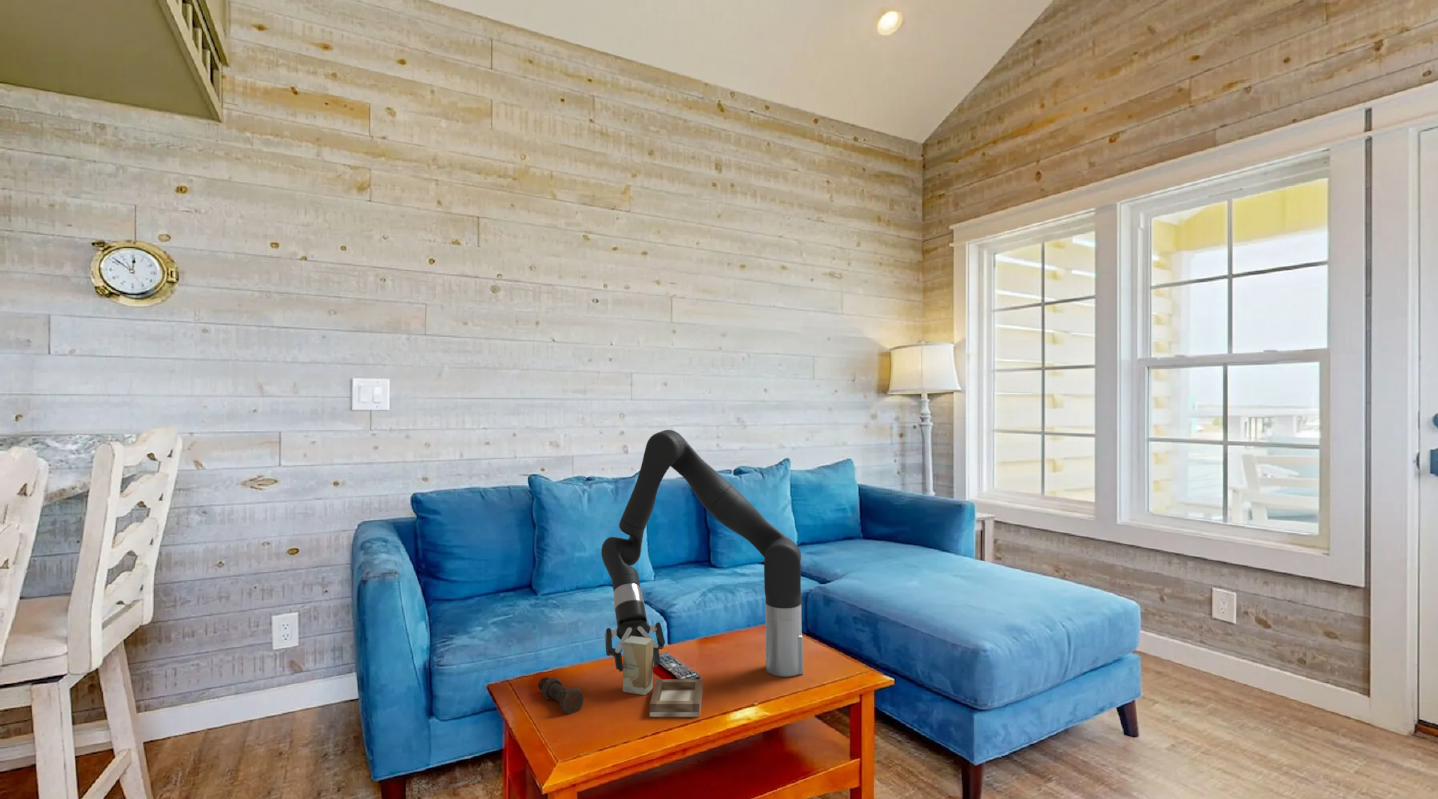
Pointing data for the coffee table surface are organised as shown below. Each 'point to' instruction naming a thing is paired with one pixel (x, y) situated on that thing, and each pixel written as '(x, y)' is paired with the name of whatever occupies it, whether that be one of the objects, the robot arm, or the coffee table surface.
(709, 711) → the coffee table surface
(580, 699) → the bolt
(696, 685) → the tray
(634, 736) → the coffee table surface
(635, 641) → the skincare box
